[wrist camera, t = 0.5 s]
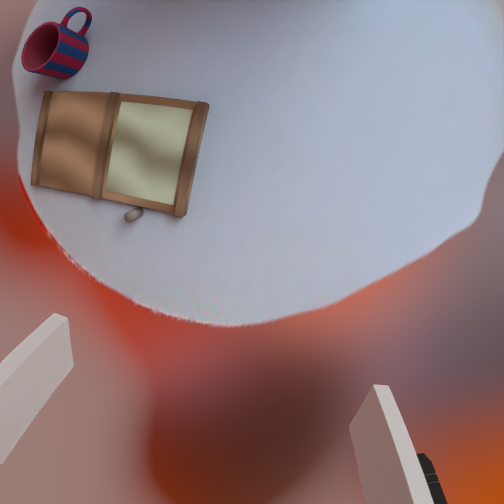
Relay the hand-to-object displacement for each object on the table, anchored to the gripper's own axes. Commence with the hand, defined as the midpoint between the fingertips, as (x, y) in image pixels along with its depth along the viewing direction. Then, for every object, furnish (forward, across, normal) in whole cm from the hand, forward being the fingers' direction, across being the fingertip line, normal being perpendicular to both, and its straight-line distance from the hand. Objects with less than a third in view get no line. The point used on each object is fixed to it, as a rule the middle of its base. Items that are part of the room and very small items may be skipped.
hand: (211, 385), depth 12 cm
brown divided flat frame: (+26, -19, +7) cm, 33 cm away
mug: (+26, -28, +20) cm, 43 cm away
